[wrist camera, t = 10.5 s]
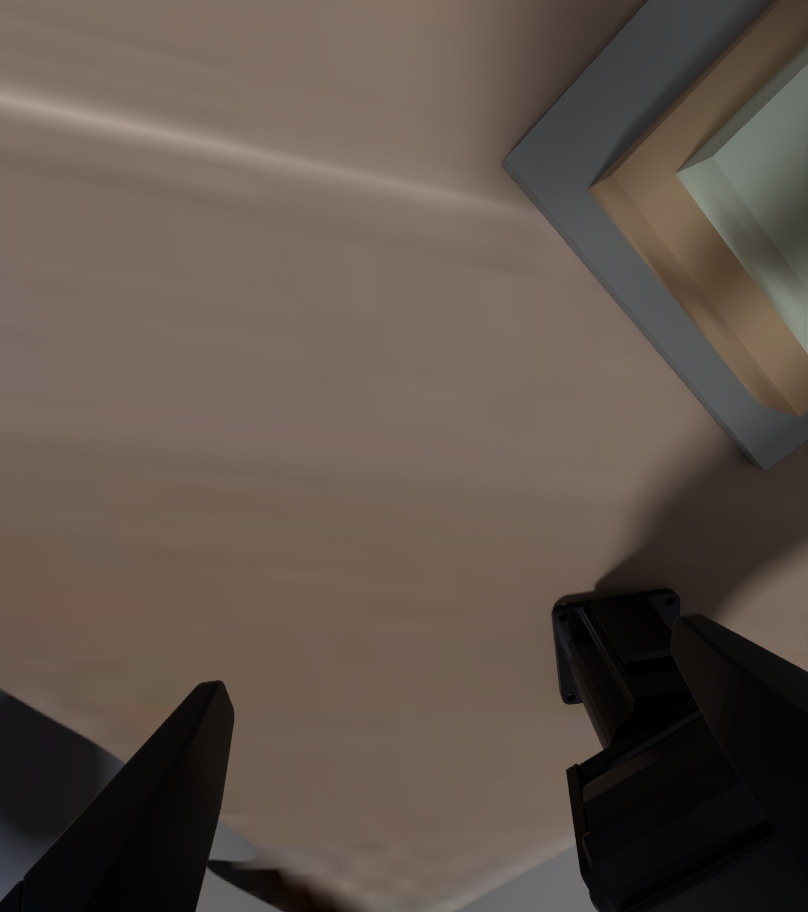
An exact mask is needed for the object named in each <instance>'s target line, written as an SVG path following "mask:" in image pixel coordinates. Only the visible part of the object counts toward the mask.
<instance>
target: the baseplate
mask: <svg viewBox="0 0 808 912" xmlns="http://www.w3.org/2000/svg"><path fill="white" fill-rule="evenodd" d="M769 1H770V0H648V1H647V2H646V3H645V4H644V5H643V6H642V7H641V9H640V10H639V11H638V12H637V13H636V14H635V15H634V16H633V17H632V19H631V20H630V21H629V22H628V23H627V24H626V25H625V26H624V27H623V29H622V30H621V31H620V32H619V33H618V34H617V35H616V36H615V37H614V39H613V40H612V41H611V42H610V43H609V44H608V45H607V46H606V47H605V49H604V50H603V51H602V52H601V53H600V54H599V55H598V56H597V57H596V59H595V60H594V61H593V62H592V63H591V64H590V65H589V66H588V67H587V69H586V70H585V71H584V72H583V73H582V74H581V75H580V76H579V77H578V79H577V80H576V81H575V82H574V83H573V84H572V85H571V86H570V87H569V89H568V90H567V91H566V92H565V93H564V94H563V95H562V96H561V97H560V99H559V100H558V101H557V102H556V103H555V104H554V105H553V106H552V107H551V108H550V110H549V111H548V112H547V113H546V114H545V115H544V116H543V117H542V118H541V120H540V121H539V122H538V123H537V124H536V125H535V126H534V127H533V128H532V130H531V131H530V132H529V133H528V134H527V135H526V136H525V137H524V138H523V140H522V141H521V142H520V143H519V144H518V145H517V146H516V147H515V148H514V150H513V151H512V152H511V153H510V154H509V155H508V156H507V157H506V158H505V160H504V161H503V163H502V164H501V165H502V166H503V167H504V169H505V170H506V171H507V172H508V173H509V175H510V176H511V177H512V178H513V179H514V181H515V182H516V183H517V184H518V185H519V186H520V188H521V189H522V190H523V191H524V192H525V194H526V195H527V196H528V197H529V198H530V200H531V201H532V202H533V203H534V204H535V206H536V207H537V208H538V209H539V210H540V212H541V213H542V214H543V215H544V216H545V218H546V219H547V220H548V221H549V222H550V223H551V225H552V226H553V227H554V228H555V229H556V231H557V232H558V233H559V234H560V235H561V237H562V238H563V239H564V240H565V241H566V243H567V244H568V245H569V246H570V247H571V249H572V250H573V251H574V252H575V253H576V255H577V256H578V257H579V258H580V259H581V260H582V262H583V263H584V264H585V265H586V266H587V268H588V269H589V270H590V271H591V272H592V274H593V275H594V276H595V277H596V278H597V280H598V281H599V282H600V283H601V284H602V286H603V287H604V288H605V289H606V290H607V292H608V293H609V294H610V295H611V296H612V297H613V299H614V300H615V301H616V302H617V303H618V305H619V306H620V307H621V308H622V309H623V311H624V312H625V313H626V314H627V315H628V317H629V318H630V319H631V320H632V321H633V323H634V324H635V325H636V326H637V327H638V329H639V330H640V331H641V332H642V333H643V334H644V336H645V337H646V338H647V339H648V340H649V342H650V343H651V344H652V345H653V346H654V348H655V349H656V350H657V351H658V352H659V354H660V355H661V356H662V357H663V358H664V360H665V361H666V362H667V363H668V364H669V366H670V367H671V368H672V369H673V370H674V371H675V373H676V374H677V375H678V376H679V377H680V379H681V380H682V381H683V382H684V383H685V385H686V386H687V387H688V388H689V389H690V391H691V392H692V393H693V394H694V395H695V397H696V398H697V399H698V400H699V401H700V403H701V404H702V405H703V406H704V407H705V408H706V410H707V411H708V412H709V413H710V414H711V416H712V417H713V418H714V419H715V420H716V422H717V423H718V424H719V425H720V426H721V428H722V429H723V430H724V431H725V432H726V434H727V435H728V436H729V437H730V438H731V440H732V441H733V442H734V443H735V444H736V445H737V447H738V448H739V449H740V450H741V451H742V453H743V454H744V455H745V456H746V457H747V459H748V460H749V461H750V462H751V463H752V465H753V466H755V467H757V468H759V469H761V470H763V471H765V472H766V471H767V470H769V469H770V468H771V467H773V466H774V465H775V464H777V463H778V462H779V461H780V460H782V459H783V458H784V457H786V456H787V455H788V454H790V453H791V452H792V451H794V450H795V449H796V448H798V447H799V446H800V445H801V444H803V443H804V442H805V441H807V440H808V410H807V411H806V412H805V413H803V414H802V415H801V416H795V415H792V414H789V413H785V412H782V411H779V410H776V409H772V408H769V407H766V406H762V405H759V404H758V403H757V401H756V400H755V399H754V398H753V396H752V395H751V394H750V393H749V391H748V390H747V389H746V388H745V386H744V385H743V384H742V383H741V381H740V380H739V379H738V378H737V376H736V375H735V374H734V373H733V371H732V370H731V369H730V368H729V366H728V365H727V364H726V363H725V361H724V360H723V359H722V358H721V356H720V355H719V354H718V353H717V351H716V350H715V349H714V348H713V346H712V345H711V344H710V343H709V341H708V340H707V339H706V338H705V336H704V335H703V334H702V332H701V331H700V330H699V329H698V327H697V326H696V325H695V324H694V322H693V321H692V320H691V319H690V317H689V316H688V315H687V314H686V312H685V311H684V310H683V309H682V307H681V306H680V305H679V304H678V302H677V301H676V300H675V299H674V297H673V296H672V295H671V294H670V292H669V291H668V290H667V289H666V287H665V286H664V285H663V284H662V282H661V281H660V280H659V279H658V277H657V276H656V275H655V274H654V272H653V271H652V270H651V269H650V267H649V266H648V265H647V264H646V262H645V261H644V260H643V258H642V257H641V256H640V255H639V253H638V252H637V251H636V250H635V248H634V247H633V246H632V245H631V243H630V242H629V241H628V240H627V238H626V237H625V236H624V235H623V233H622V232H621V231H620V230H619V228H618V227H617V226H616V225H615V223H614V222H613V221H612V220H611V218H610V217H609V216H608V215H607V213H606V212H605V211H604V210H603V208H602V207H601V206H600V205H599V203H598V202H597V201H596V200H595V198H594V197H593V196H592V195H591V193H590V192H589V191H588V190H587V189H588V188H589V187H590V186H591V185H592V184H593V183H594V182H595V181H596V180H597V179H598V178H599V177H600V176H601V175H602V174H603V173H604V172H605V171H606V169H607V168H608V167H609V166H610V165H611V164H612V163H613V162H614V161H615V160H616V159H617V158H618V157H619V156H620V155H621V154H622V153H623V152H624V151H625V150H626V149H627V148H628V147H629V146H630V145H631V144H632V143H633V142H634V141H635V140H636V139H637V137H638V136H639V135H640V134H641V133H642V132H643V131H644V130H645V129H646V128H647V127H648V126H649V125H650V124H651V123H652V122H653V121H654V120H655V119H656V118H657V117H658V116H659V115H660V114H661V113H662V112H663V111H664V110H665V109H666V108H667V107H668V106H669V104H670V103H671V102H672V101H673V100H674V99H675V98H676V97H677V96H678V95H679V94H680V93H681V92H682V91H683V90H684V89H685V88H686V87H687V86H688V85H689V84H690V83H691V82H692V81H693V80H694V79H695V78H696V77H697V76H698V75H699V74H700V72H701V71H702V70H703V69H704V68H705V67H706V66H707V65H708V64H709V63H710V62H711V61H712V60H713V59H714V58H715V57H716V56H717V55H718V54H719V53H720V52H721V51H722V50H723V49H724V48H725V47H726V46H727V45H728V44H729V43H730V42H731V41H732V39H733V38H734V37H735V36H736V35H737V34H738V33H739V32H740V31H741V30H742V29H743V28H744V27H745V26H746V25H747V24H748V23H749V22H750V21H751V20H752V19H753V18H754V17H755V16H756V15H757V14H758V13H759V12H760V11H761V10H762V9H763V7H764V6H765V5H766V4H767V3H768V2H769Z"/></svg>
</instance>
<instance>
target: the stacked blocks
mask: <svg viewBox="0 0 808 912" xmlns="http://www.w3.org/2000/svg"><path fill="white" fill-rule="evenodd" d="M587 190H588V191H589V192H590V193H591V195H592V196H593V197H594V198H595V200H596V201H597V202H598V203H599V205H600V206H601V207H602V208H603V210H604V211H605V212H606V213H607V215H608V216H609V217H610V218H611V220H612V221H613V222H614V223H615V225H616V226H617V227H618V228H619V230H620V231H621V232H622V233H623V235H624V236H625V237H626V238H627V240H628V241H629V242H630V243H631V245H632V246H633V247H634V248H635V250H636V251H637V252H638V253H639V255H640V256H641V257H642V258H643V260H644V261H645V262H646V264H647V265H648V266H649V267H650V269H651V270H652V271H653V272H654V274H655V275H656V276H657V277H658V279H659V280H660V281H661V282H662V284H663V285H664V286H665V287H666V289H667V290H668V291H669V292H670V294H671V295H672V296H673V297H674V299H675V300H676V301H677V302H678V304H679V305H680V306H681V307H682V309H683V310H684V311H685V312H686V314H687V315H688V316H689V317H690V319H691V320H692V321H693V322H694V324H695V325H696V326H697V327H698V329H699V330H700V331H701V332H702V334H703V335H704V336H705V338H706V339H707V340H708V341H709V343H710V344H711V345H712V346H713V348H714V349H715V350H716V351H717V353H718V354H719V355H720V356H721V358H722V359H723V360H724V361H725V363H726V364H727V365H728V366H729V368H730V369H731V370H732V371H733V373H734V374H735V375H736V376H737V378H738V379H739V380H740V381H741V383H742V384H743V385H744V386H745V388H746V389H747V390H748V391H749V393H750V394H751V395H752V396H753V398H754V399H755V400H756V401H757V403H758V404H759V405H762V406H766V407H769V408H772V409H776V410H779V411H782V412H785V413H789V414H792V415H795V416H801V415H802V414H803V413H805V412H806V411H807V410H808V0H770V1H769V2H768V3H767V4H766V5H765V6H764V7H763V9H762V10H761V11H760V12H759V13H758V14H757V15H756V16H755V17H754V18H753V19H752V20H751V21H750V22H749V23H748V24H747V25H746V26H745V27H744V28H743V29H742V30H741V31H740V32H739V33H738V34H737V35H736V36H735V37H734V38H733V39H732V41H731V42H730V43H729V44H728V45H727V46H726V47H725V48H724V49H723V50H722V51H721V52H720V53H719V54H718V55H717V56H716V57H715V58H714V59H713V60H712V61H711V62H710V63H709V64H708V65H707V66H706V67H705V68H704V69H703V70H702V71H701V72H700V74H699V75H698V76H697V77H696V78H695V79H694V80H693V81H692V82H691V83H690V84H689V85H688V86H687V87H686V88H685V89H684V90H683V91H682V92H681V93H680V94H679V95H678V96H677V97H676V98H675V99H674V100H673V101H672V102H671V103H670V104H669V106H668V107H667V108H666V109H665V110H664V111H663V112H662V113H661V114H660V115H659V116H658V117H657V118H656V119H655V120H654V121H653V122H652V123H651V124H650V125H649V126H648V127H647V128H646V129H645V130H644V131H643V132H642V133H641V134H640V135H639V136H638V137H637V139H636V140H635V141H634V142H633V143H632V144H631V145H630V146H629V147H628V148H627V149H626V150H625V151H624V152H623V153H622V154H621V155H620V156H619V157H618V158H617V159H616V160H615V161H614V162H613V163H612V164H611V165H610V166H609V167H608V168H607V169H606V171H605V172H604V173H603V174H602V175H601V176H600V177H599V178H598V179H597V180H596V181H595V182H594V183H593V184H592V185H591V186H590V187H589V188H588V189H587Z"/></svg>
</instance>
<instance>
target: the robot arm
mask: <svg viewBox="0 0 808 912" xmlns="http://www.w3.org/2000/svg"><path fill="white" fill-rule="evenodd" d="M669 597H671V598H670V599H669V600H667V601H666V599H667V598H669ZM562 614H565V615H564V616H563V617H559V616H560V615H562ZM552 623H553V633H554V642H555V652H556V661H557V670H558V680H559V689H560V695H561V697H562V700H563V702H564V703H565V704H569V705H572V704H579V703H583V704H584V706H585V709H586V711H587V713H588V716H589V718H590V720H591V722H592V725H593V727H594V729H595V732H596V734H597V736H598V738H599V741H600V743H601V745H602V748H603V750H602V751H601V752H599V753H597V754H596V755H594V756H593V757H591V758H589V759H588V760H586V761H584V762H583V763H581V764H580V765H578V764H575V765H573V766H571V767H570V768H568V769H567V770H566V773H567V780H568V787H569V796H570V803H571V810H572V817H573V824H574V831H575V838H576V846H577V852H578V858H579V865H580V872H581V875H582V878H583V880H584V882H585V884H586V885H587V887H588V889H589V895H590V899H591V901H592V903H593V905H594V907H595V908H596V909H597V911H598V912H808V672H807V671H805V670H803V669H802V668H800V667H798V666H796V665H794V664H792V663H790V662H789V661H787V660H785V659H783V658H781V657H779V656H777V655H776V654H774V653H772V652H770V651H768V650H766V649H765V648H763V647H761V646H759V645H757V644H755V643H753V642H752V641H750V640H748V639H746V638H744V637H742V636H740V635H739V634H737V633H735V632H733V631H731V630H729V629H728V628H726V627H724V626H722V625H720V624H718V623H716V622H715V621H713V620H711V619H709V618H707V617H705V616H703V615H701V614H698V613H691V614H683V615H680V598H679V596H678V595H677V594H676V593H675V592H674V591H673V590H672V589H661V590H655V591H648V592H642V593H636V594H629V595H623V596H617V597H610V598H604V599H597V600H591V601H585V602H578V603H572V604H566V605H560V606H557V607H555V608H554V609H553V611H552ZM570 694H572V695H570ZM233 725H234V709H233V706H232V703H231V700H230V698H229V695H228V692H227V690H226V687H225V685H224V683H223V682H222V681H221V680H216V681H209V682H203V683H200V684H199V685H197V686H196V687H195V689H194V690H193V691H192V692H191V693H190V694H189V695H188V696H187V697H186V698H185V699H184V701H183V702H182V703H181V704H180V705H179V706H178V707H177V708H176V709H175V710H174V712H173V713H172V714H171V715H170V716H169V717H168V718H167V719H166V720H165V721H164V723H163V724H162V725H161V726H160V727H159V728H158V729H157V730H156V731H155V732H154V734H153V735H152V736H151V737H150V738H149V739H148V740H147V741H146V742H145V743H144V745H143V746H142V747H141V748H140V749H139V750H138V751H137V752H136V753H135V754H134V756H133V757H132V758H131V759H130V760H129V761H128V762H127V763H126V764H125V765H124V767H123V768H122V769H121V770H120V771H119V772H118V773H117V774H116V775H115V777H114V778H113V779H112V780H111V781H110V782H109V783H108V784H107V785H106V786H105V787H104V789H103V790H102V791H101V792H100V793H99V794H98V795H97V796H96V797H95V798H94V800H93V801H92V802H91V803H90V804H89V805H88V806H87V807H86V808H85V809H84V810H83V812H82V813H81V814H80V815H79V816H78V817H77V818H76V819H75V820H74V821H73V823H72V824H71V825H70V826H69V827H68V828H67V829H66V830H65V831H64V832H63V834H62V835H61V836H60V837H59V838H58V839H57V840H56V841H55V842H54V844H53V845H52V846H51V847H50V848H49V849H48V850H47V851H46V852H45V853H44V854H43V855H42V857H41V858H40V859H39V860H38V861H37V862H36V863H35V864H34V865H33V866H32V868H31V869H30V870H29V871H28V872H27V873H26V874H25V876H24V879H23V881H22V880H21V881H19V882H18V883H17V884H16V885H15V886H14V887H13V888H12V889H11V890H10V892H9V893H8V894H7V895H6V896H5V897H4V898H3V899H2V900H1V901H0V912H195V911H196V907H197V903H198V899H199V895H200V891H201V887H202V883H203V879H204V875H205V871H206V867H207V863H208V859H209V855H210V851H211V847H212V843H213V839H214V835H215V831H216V827H217V823H218V818H219V814H220V810H221V804H222V798H223V792H224V786H225V779H226V772H227V766H228V759H229V752H230V746H231V739H232V732H233Z"/></svg>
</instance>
